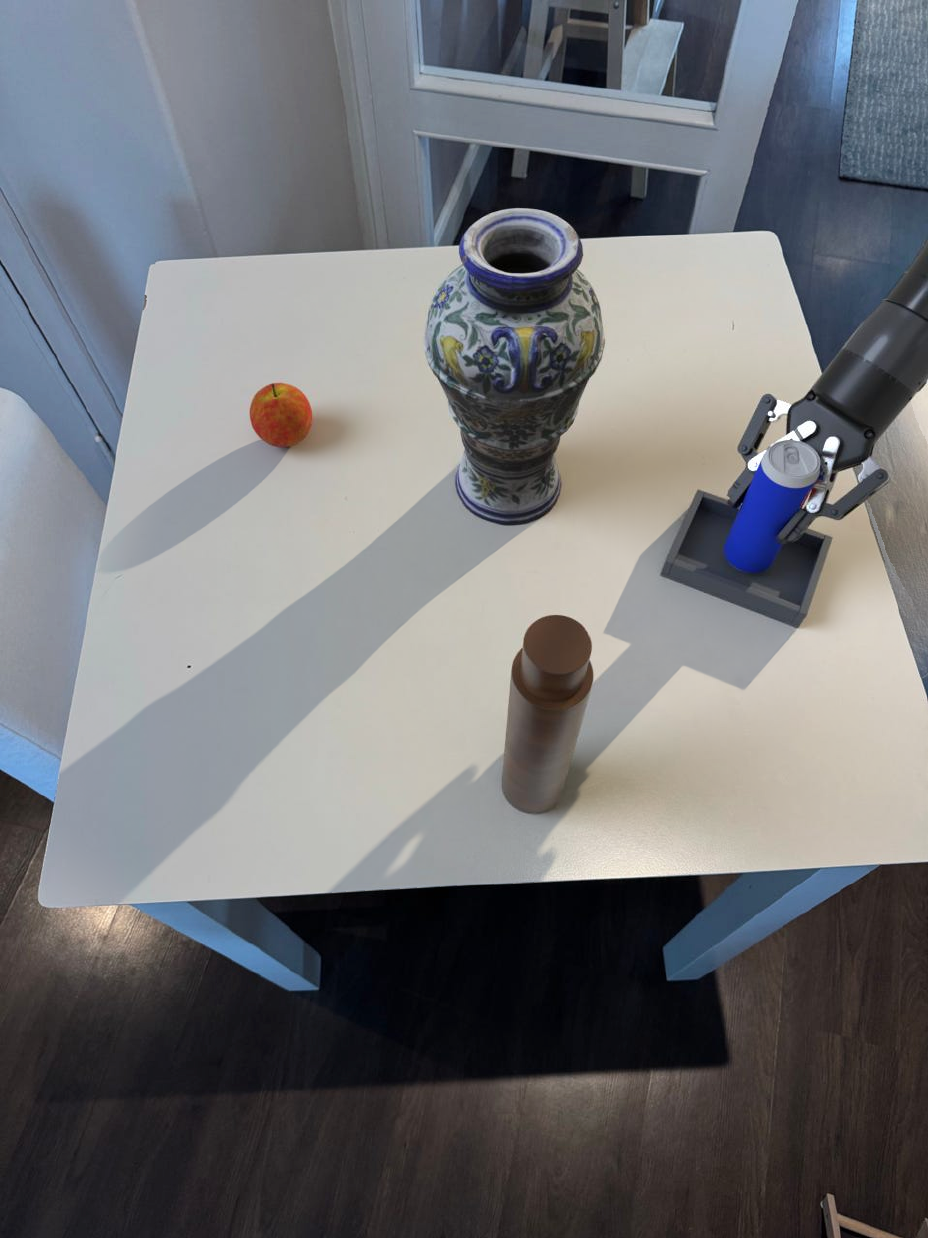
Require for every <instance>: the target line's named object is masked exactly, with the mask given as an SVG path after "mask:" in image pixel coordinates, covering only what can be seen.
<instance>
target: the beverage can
mask: <svg viewBox="0 0 928 1238" xmlns="http://www.w3.org/2000/svg"><path fill="white" fill-rule="evenodd" d="M777 441H778V440H777ZM777 441H775V442H776V443H775V442H773V443H772V444H773V445H772V444H771V445H772V446H771V447H770V448H769V449H768V450H767V451H766V452H765V453H764V454H763V456H762V458H761V461H760V463H759V465H758V468H757V470H756V472H755V475H754V477H753V479H752V482H751V484H750V486H749V489H748V491H747V493H746V496H745V498H744V500H743V503H742V504H741V507H740V510H739V512H738V514H737V517H736V519H735V521H734V524H733V526H732V528H731V531H730V533H729V535H728V538H727V540H726V542H725V545H724V554H725V557H726V559H727V560H728V562H729V563H730V564H731V565H732V566H733V567H734V568H736V569H737V570H739V571H742V572H746V573H758V572H762V571H765V570H766V569H768V568H769V567H770V566H771V565H772V563H773V562H774V560H775V558H776V556H777V554H778V552H779V550H780V548H781V546H782V545H783V544H780V543H779V542H778V541H776V540H775V539H776V537H777V536H778V534H779V533H780V532H781V531H782V530H783V528H784V527H785V526H786V525H787V523H788V522H789V521H790V520H791V519H792V517H793V516H794V515H795V514H796V512H797V511H798V510H799V509H800V508H804V505H805V503H806V501H807V500H808V498H809V496H810V493H811V490H812V488H813V486H814V484H815V482H816V480H817V478H818V477H819V474H820V457H819V455H818V453H817V452H816V451H815V450H814V449H813V448H812V447H811V446H809V445H808V444H806V443H804V442H801V441H797V440H781V441H778V442H777Z"/></svg>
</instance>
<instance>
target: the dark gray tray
mask: <svg viewBox="0 0 928 1238" xmlns="http://www.w3.org/2000/svg"><path fill="white" fill-rule="evenodd" d="M728 500H729V499H726V498H724V497H722V496H718V495H716V494H713V493H709V492H707V491H704V490H702V489H699V488H698V489H697V490H696V492H695V495H694V496H693V498H692V501H691V503H690V505H689V507H688V509H687V512H686V513H685V516H684V518H683V520H682V523H681V524H680V526H679V529H678V531H677V534H676V536H675V538H674V540H673V543H672V545H671V547H670V549H669V551H668V554H667V556H666V558H665V559H664V562H663V566H662V568H661V571H660V577H663V578H666V579H669V580H671V581H674V582H676V583H679V584H680V585H681V584H682V585H684V586H687V587H690V588H692V589H695V590H697V591H700V592H703V593H705V594H707V595H710V596H713V597H715V598H718V599H720V600H723V601H726V602H728V603H730V604H734V605H736V606H739V607H741V608H744V609H747V610H749V611H752V612H754V613H757V614H759V615H763V616H765V617H767V618H770V619H773V620H775V621H778V622H781V623H783V624H786V625H789V626H791V627H793V628H796V629H799V628H800V626H801V625H802V623H803V622H804V620H805V619H806V617H807V615H808V613H809V610H810V607H811V604H812V601H813V598H814V595H815V592H816V590H817V586H818V583H819V581H820V577H821V574H822V571H823V569H824V565H825V562H826V559H827V557H828V553H829V550H830V547H831V544H832V542H833V539H834V538H833V536H831V535H828V534H825V533H822V532H821V531H816V530H814V529H811V528H810V527H808V528H807V530H806V531H805V532H804V533H803V534H802V536H801V537H800V538H799V539H798V540H797V541H795V542H793V543H791V542H789V541H788V542H787V543H786V544H784V545H782V546H781V548H780V550H779V552H778V554H777V556H776V558H775V560H774V562H773V563H772V565H771V566H770V567H769V568H768V569H766V570H765V571H762V572H758V573H746V572H742V571H739V570H737V569H736V568H734V567H733V566H732V565H731V564H730V563H729V562H728V560H727V559H726V557H725V554H724V545H725V542H726V540H727V538H728V535H729V533H730V531H731V528H732V526H733V524H734V521H735V519H736V517H737V514H738V512H739V510H740V507H741V505H742V504H741V505H740V506H739V507H738V508H737V509H735V508H732V507H731V506H730V505H728V504H727V502H728Z"/></svg>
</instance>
